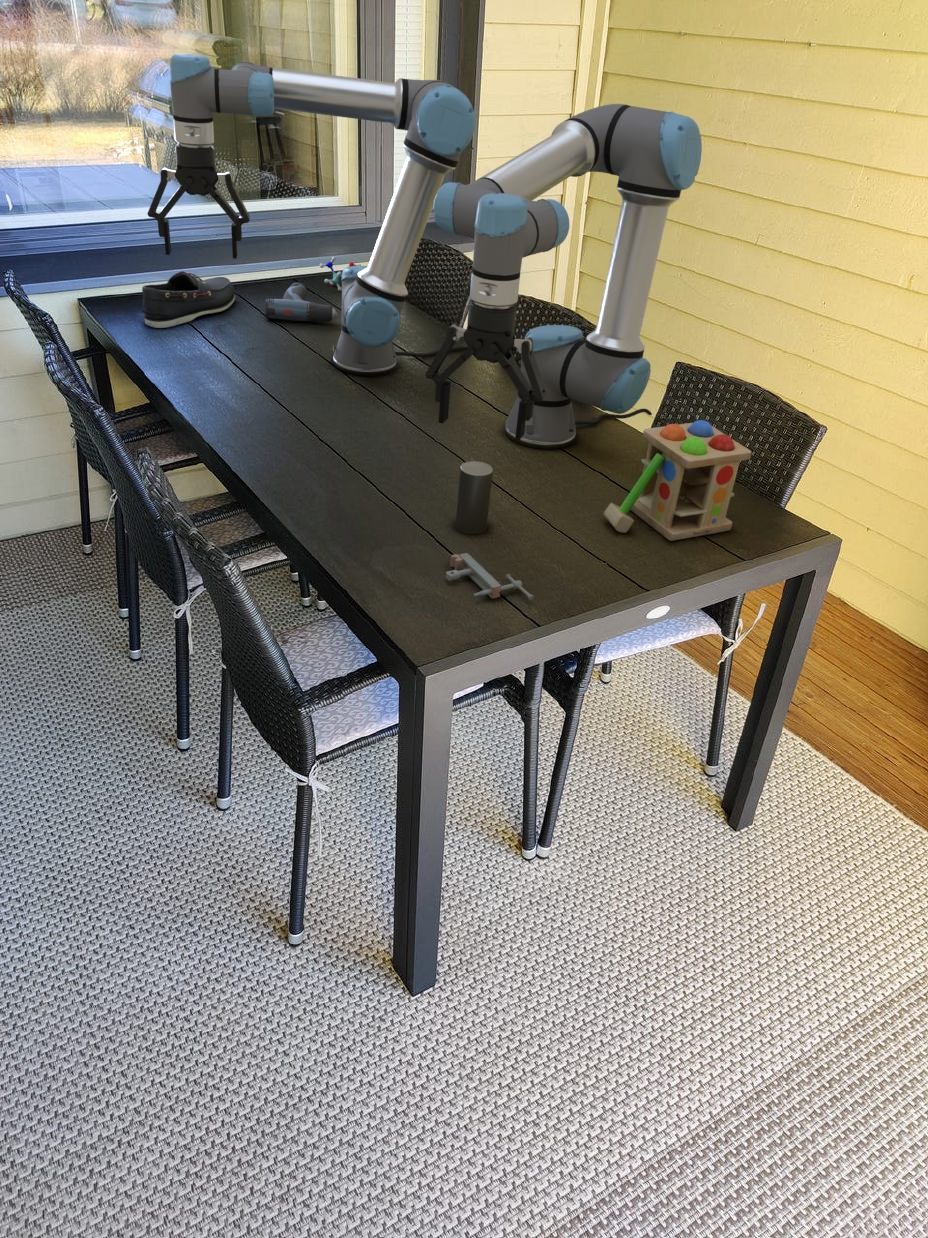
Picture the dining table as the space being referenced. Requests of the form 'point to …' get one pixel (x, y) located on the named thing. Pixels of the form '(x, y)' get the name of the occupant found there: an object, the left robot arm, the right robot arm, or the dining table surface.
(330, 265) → the molecular model
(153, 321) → the boat shoe
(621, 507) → the pounding bench toy
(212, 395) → the dining table surface
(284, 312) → the power drill
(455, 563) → the clamp
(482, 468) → the tin
